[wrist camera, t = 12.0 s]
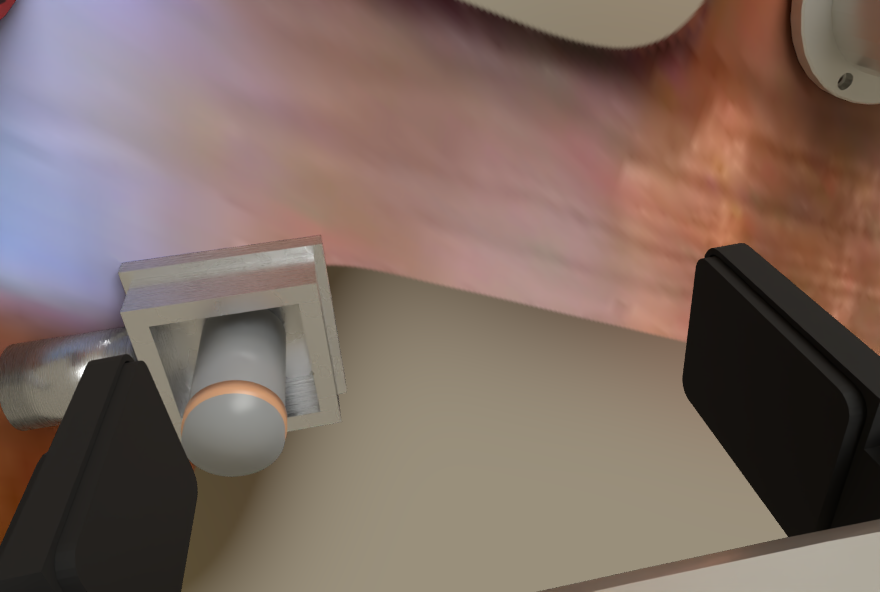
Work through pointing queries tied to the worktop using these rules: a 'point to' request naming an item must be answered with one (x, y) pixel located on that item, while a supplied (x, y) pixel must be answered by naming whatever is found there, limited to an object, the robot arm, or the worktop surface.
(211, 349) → the canister
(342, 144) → the worktop surface
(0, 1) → the canned food
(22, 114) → the worktop surface
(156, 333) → the fitting
